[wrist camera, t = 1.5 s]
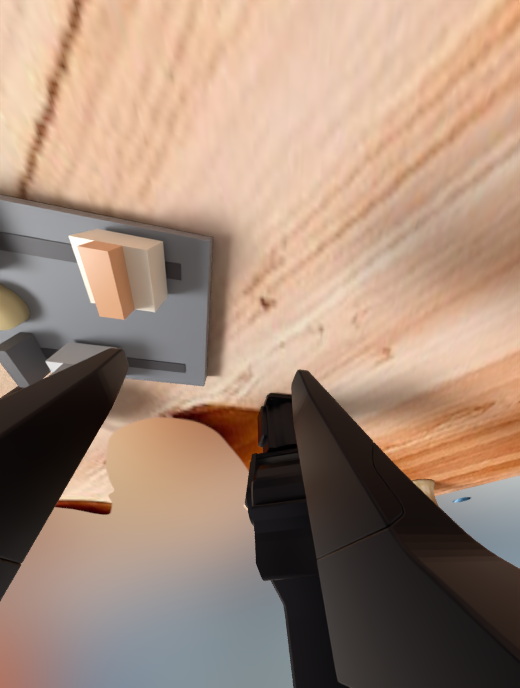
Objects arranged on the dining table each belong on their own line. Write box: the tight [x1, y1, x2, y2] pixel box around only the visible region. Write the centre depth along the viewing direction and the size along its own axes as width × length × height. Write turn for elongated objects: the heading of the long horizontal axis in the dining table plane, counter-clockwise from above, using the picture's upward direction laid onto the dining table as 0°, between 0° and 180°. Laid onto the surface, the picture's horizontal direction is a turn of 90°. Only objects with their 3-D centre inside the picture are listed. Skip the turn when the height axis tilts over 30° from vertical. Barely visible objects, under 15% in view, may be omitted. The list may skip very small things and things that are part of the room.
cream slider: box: [69, 229, 168, 320], centre depth 13 cm, size 4×4×4 cm
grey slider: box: [45, 342, 126, 378], centre depth 18 cm, size 4×4×4 cm
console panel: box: [0, 195, 213, 388], centre depth 17 cm, size 19×15×4 cm
